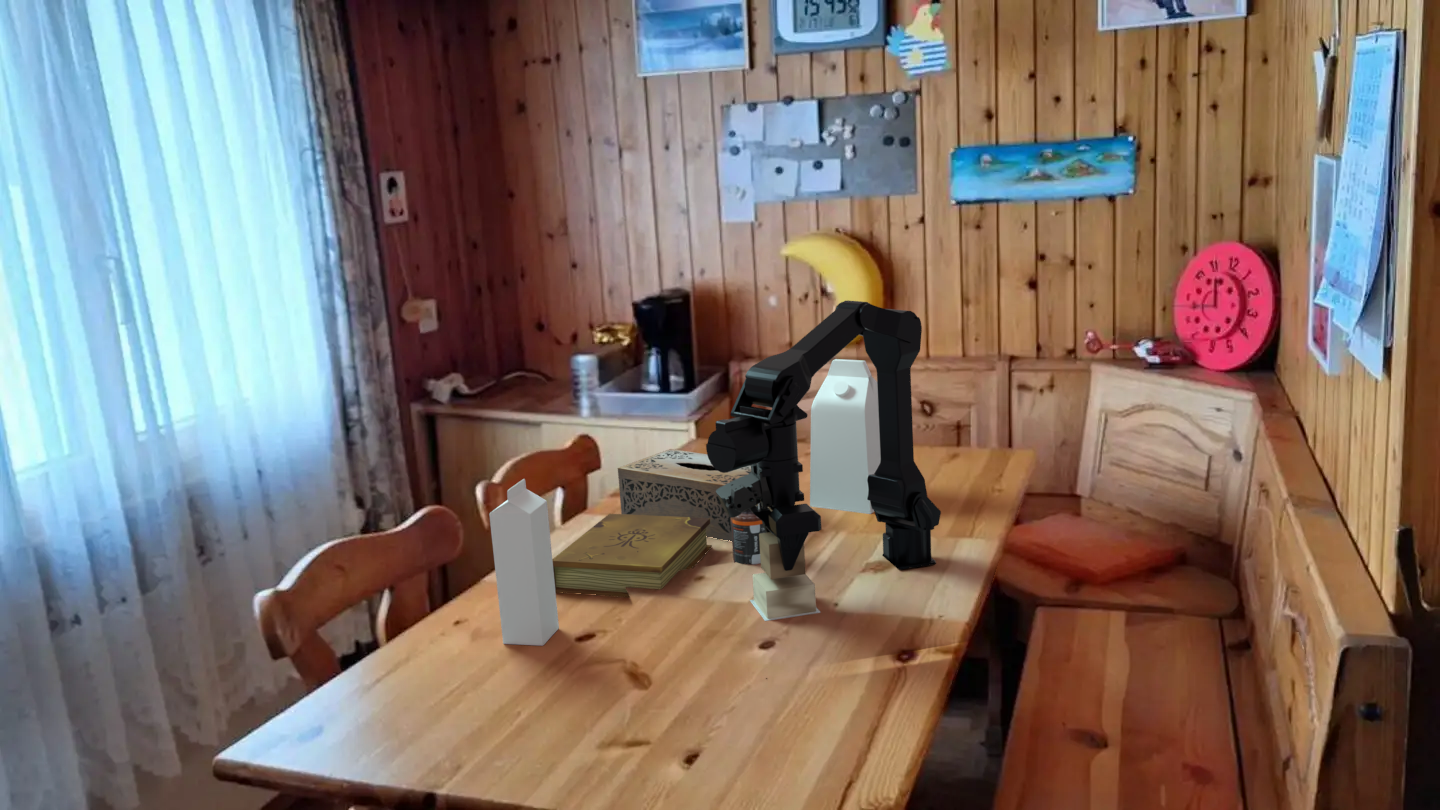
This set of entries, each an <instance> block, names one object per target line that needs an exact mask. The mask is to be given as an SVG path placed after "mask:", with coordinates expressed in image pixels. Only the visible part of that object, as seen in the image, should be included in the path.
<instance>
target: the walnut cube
mask: <svg viewBox="0 0 1440 810" xmlns="http://www.w3.org/2000/svg"><path fill="white" fill-rule="evenodd" d="M759 542H760V559H761V563H760V568H761V569H762V570H763V571H764V572H763V573H766V574H767V575H768V576H769V578H770V579H776V578H783V577H790V576H797V575H803V574H806V573H807V572H806V556H805V555H806V554H805V553H806V552H805V543H804V544H803V546H802V548H801V551H800V553H799V555H798V558H797V560H796V562H795V565H794V567H793V569H792V570H789V571H785V570H784V567H783V563H782V559H781V554H780V549H779V545H778V540H777V537H776V536H775V535H773V534H772V533H771V532H768V533H760V534H759ZM806 575H807V574H806Z"/></svg>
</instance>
